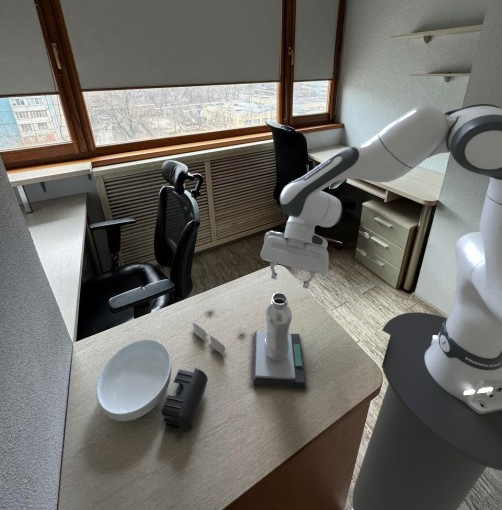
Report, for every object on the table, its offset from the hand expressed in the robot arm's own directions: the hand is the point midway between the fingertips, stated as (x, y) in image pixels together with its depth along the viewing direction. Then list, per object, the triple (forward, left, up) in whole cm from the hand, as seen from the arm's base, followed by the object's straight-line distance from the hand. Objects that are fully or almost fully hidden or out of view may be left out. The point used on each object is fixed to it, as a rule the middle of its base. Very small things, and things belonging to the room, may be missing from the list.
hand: (289, 283), depth 78 cm
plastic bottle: (+4, +11, -14) cm, 18 cm away
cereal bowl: (+38, +20, -17) cm, 46 cm away
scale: (+3, +11, -17) cm, 20 cm away
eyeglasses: (+21, +4, -17) cm, 27 cm away
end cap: (+25, +23, -17) cm, 38 cm away
